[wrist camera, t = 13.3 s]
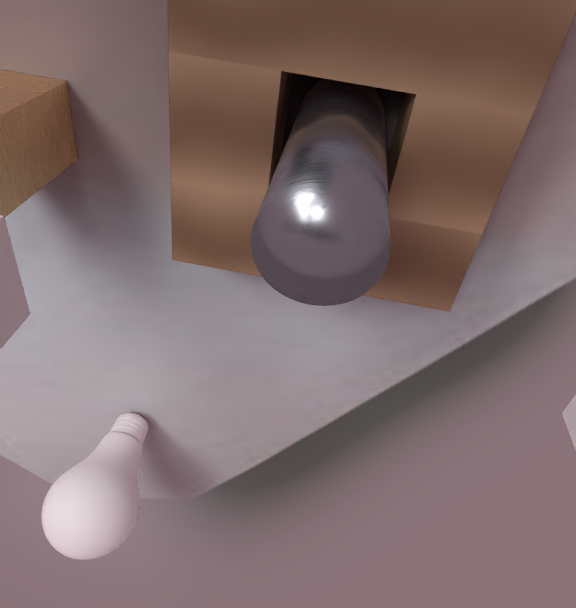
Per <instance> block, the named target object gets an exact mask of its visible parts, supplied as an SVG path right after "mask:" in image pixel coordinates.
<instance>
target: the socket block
mask: <svg viewBox="0 0 576 608" xmlns="http://www.w3.org/2000/svg"><path fill="white" fill-rule="evenodd" d="M575 14H576V0H168V51H169V105H170V159H171V213H172V260H177V261H182V262H188V263H193V264H198V265H204V266H209V267H214V268H220V269H225V270H230V271H236V272H241V273H247V274H252V275H257V276H262V275H261V274H260V272H259V271H258V269H257V267H256V265H255V263H254V260H253V257H252V253H251V246H250V241H251V232H252V228H253V225H254V222H255V219H256V217H257V214H258V212H259V209H260V207H261V204H262V202H263V199H264V197H265V195H266V192H267V190H268V187H269V185H270V182H271V180H272V177H273V175H274V172H275V170H276V167H277V165H278V163H279V160H280V158H281V155H282V148H283V140H284V132H285V123H286V115H287V107H288V99H289V91H290V83H291V75H292V73H296V74H302V75H308V76H314V77H319V78H325V79H331V80H337V81H342V82H348V83H354V84H360V85H365V86H371V87H377V88H383V89H389V90H394V91H400V92H405V94H404V98H403V101H402V105H401V109H400V113H399V117H398V121H397V124H396V128H395V132H394V136H393V140H392V144H391V147H390V151H389V155H388V159H387V178H388V201H389V224H390V257H389V262H388V265H387V267H386V270H385V272H384V273H383V275H382V277H381V278H380V280H379V281H378V282H377V283H376V284H375V285H374V286H373V287H372V288H371V289H370V290H369V291H367V292H366V293H365V294H363V295H365V296H370V297H375V298H381V299H386V300H391V301H397V302H402V303H408V304H413V305H418V306H424V307H429V308H434V309H440V310H445V311H450V309H451V307H452V305H453V302H454V300H455V297H456V295H457V293H458V290H459V288H460V286H461V283H462V281H463V279H464V276H465V274H466V271H467V269H468V267H469V264H470V262H471V260H472V257H473V255H474V253H475V250H476V248H477V245H478V243H479V241H480V238H481V236H482V234H483V231H484V229H485V227H486V224H487V222H488V219H489V217H490V215H491V212H492V210H493V208H494V205H495V203H496V201H497V198H498V196H499V193H500V191H501V189H502V186H503V184H504V182H505V179H506V177H507V175H508V172H509V170H510V167H511V165H512V163H513V160H514V158H515V156H516V153H517V151H518V149H519V146H520V144H521V141H522V139H523V137H524V134H525V132H526V130H527V127H528V125H529V123H530V120H531V118H532V115H533V113H534V111H535V108H536V106H537V104H538V101H539V99H540V97H541V94H542V92H543V89H544V87H545V85H546V82H547V80H548V78H549V75H550V73H551V71H552V68H553V66H554V63H555V61H556V59H557V56H558V54H559V52H560V49H561V47H562V45H563V42H564V40H565V37H566V35H567V33H568V30H569V28H570V26H571V23H572V21H573V19H574V16H575Z"/></svg>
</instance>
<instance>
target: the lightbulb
mask: <svg viewBox="0 0 576 608" xmlns="http://www.w3.org/2000/svg"><path fill="white" fill-rule="evenodd" d="M147 431H148V424H147V422H146V420H145V419H144V418H142V417H141V416H140V415H139V414H136V413H125V414H122V415H120V416H119V417H118V419H117V420H116V422H115V423H114V425H113V427H112V428H111V430H110V432H109V433H108V434H106V435H105V436H104V437H103V438H102V440H101V442H100V443H99V445H98V446H97V447H96V448H95V450H94V451H93V452H92V453H91V454H90V455H89V456H88V457H87V458H86V459H84V460H83V461H81V462H79V463H78V464H76V465H74V466H73V467H72V468H70V469H69V470H68V471H66V472H65V473H63V474H62V475H61V476H60V477H59V478H58V479H57V480H56V481H55V482H54V483H53V484H52V487H51V488H50V490H49V492H48V493H47V495H46V497H45V500H44V503H43V508H42V526H43V529H44V533H45V536H46V537H47V539H48V541H49V542H50V544H51V545H52V546H53V547H54V548H55V549H56V550H57V551H59V552H60V553H61V554H63V555H65V556H67V557H70V558H73V559H82V560H83V559H94V558H98V557H102V556H104V555H106V554H108V553H110V552H112V551H113V550H115V549H116V548H118V547H119V546H120V545H121V544H122V543H123V542H124V541H125V539H127V537H128V536H129V535H130V534H131V532H132V530H133V529H134V527H135V524H136V521H137V518H138V515H139V509H140V501H139V488H138V482H137V470H138V465H139V461H140V458H141V455H142V452H143V449H142V446H143V442H144V440H145V437H146V435H147Z"/></svg>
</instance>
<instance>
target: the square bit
mask: <svg viewBox="0 0 576 608" xmlns="http://www.w3.org/2000/svg"><path fill="white" fill-rule="evenodd" d="M77 159H78V158H77V151H76V144H75V136H74V129H73V122H72V115H71V107H70V100H69V93H68V85H67V81H65V80H59V79H53V78H48V77H42V76H36V75H31V74H25V73H19V72H14V71H8V70H2V69H0V215H2V216H4V218H5V217H6V216H7V215H9V214H10V213H11V212H12V211H14V210H15V209H16V208H17V207H19V206H20V205H21V204H22V203H24V202H25V201H26V200H27V199H29V198H30V197H31V196H32V195H34V194H35V193H36V192H37V191H38V190H40V189H41V188H42V187H43V186H45V185H46V184H47V183H48V182H50V181H51V180H52V179H53V178H55V177H56V176H57V175H58V174H60V173H61V172H62V171H63V170H65V169H66V168H67V167H68V166H70V165H71V164H72V163H73V162H75V161H76V160H77Z"/></svg>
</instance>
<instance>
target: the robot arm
mask: <svg viewBox="0 0 576 608" xmlns="http://www.w3.org/2000/svg"><path fill="white" fill-rule="evenodd" d="M29 315H30V312H29V308H28V304H27V300H26V297H25V293H24V289H23V285H22V282H21V278H20V274H19V270H18V267H17V263H16V259H15V255H14V252H13V248H12V244H11V240H10V237H9V233H8V229H7V225H6V222H5V218H4V216H2V215H0V349H1V348H2V347H3V346H4V344H5V343H6V342H7V341H8V340H9V338H10V337H11V336H12V335H13V334H14V332H15V331H16V330H17V329H18V328H19V327H20V325H21V324H22V323H23V322H24V321H25V319H26V318H27V317H28V316H29ZM562 415H563V418H564V420H565V423H566V426H567V429H568V431H569V434H570V436H571V439H572V442H573V445H574V448H575V451H576V395H575V396H574V398H573V399H572V400H571V402H570V403H569V404H568V406H567V407H566V408H565V410H564V411H563V413H562Z"/></svg>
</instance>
